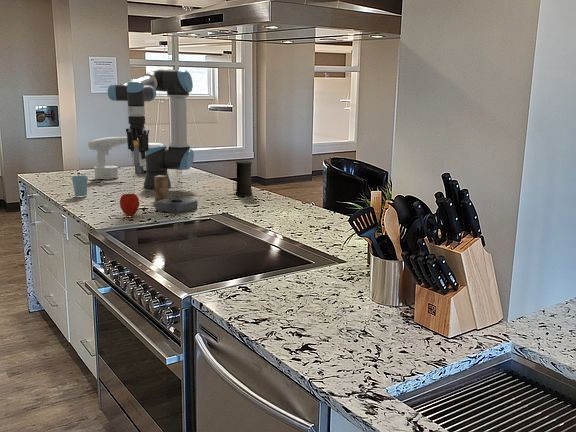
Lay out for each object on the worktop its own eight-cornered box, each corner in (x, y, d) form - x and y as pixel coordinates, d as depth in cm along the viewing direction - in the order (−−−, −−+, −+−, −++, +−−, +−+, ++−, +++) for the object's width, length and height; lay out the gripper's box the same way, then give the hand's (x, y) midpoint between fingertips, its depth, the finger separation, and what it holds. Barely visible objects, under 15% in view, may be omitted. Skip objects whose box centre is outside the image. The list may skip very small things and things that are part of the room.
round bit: (133, 173, 272) (131, 140, 268) (139, 172, 275) (138, 139, 271) (139, 174, 269) (137, 141, 266) (145, 173, 273) (143, 140, 269)
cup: (83, 198, 291) (82, 178, 288) (70, 197, 292) (68, 177, 290) (91, 195, 298) (90, 175, 295) (78, 194, 300) (77, 175, 297)
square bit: (155, 199, 291) (154, 176, 288) (160, 197, 296) (159, 175, 293) (163, 200, 289) (162, 177, 287) (168, 198, 294) (167, 175, 291)
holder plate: (155, 210, 269) (154, 201, 268) (176, 204, 280) (176, 196, 280) (176, 214, 262) (176, 205, 261) (197, 208, 273) (197, 200, 272)
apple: (134, 213, 261) (133, 190, 259) (143, 217, 256) (142, 193, 253) (116, 216, 256) (115, 192, 253) (126, 220, 250) (125, 195, 247)
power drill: (132, 177, 351) (130, 136, 345) (92, 180, 338) (89, 138, 332) (128, 175, 358) (126, 135, 352) (88, 178, 345) (86, 137, 339)
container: (253, 193, 311) (253, 160, 307) (250, 196, 302) (250, 163, 298) (237, 192, 312) (237, 160, 308) (234, 196, 303) (234, 162, 299)
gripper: (117, 114, 267) (120, 164, 273) (143, 117, 258) (145, 168, 264) (130, 114, 273) (132, 162, 279) (155, 116, 264) (157, 166, 270)
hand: (138, 165), depth 271 cm, fingers closed on round bit, 4 cm apart
